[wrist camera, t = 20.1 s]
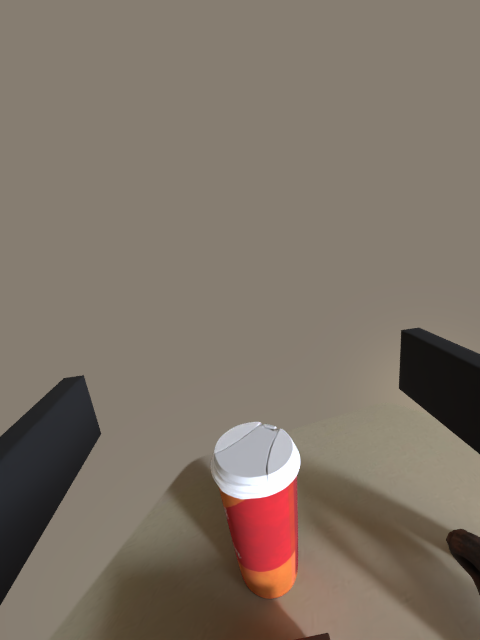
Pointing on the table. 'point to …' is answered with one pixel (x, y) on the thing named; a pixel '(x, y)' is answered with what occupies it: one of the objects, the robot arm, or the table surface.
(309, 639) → the wooden tray
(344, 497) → the table surface
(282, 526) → the paper cup
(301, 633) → the table surface
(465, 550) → the pottery mug
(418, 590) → the table surface
